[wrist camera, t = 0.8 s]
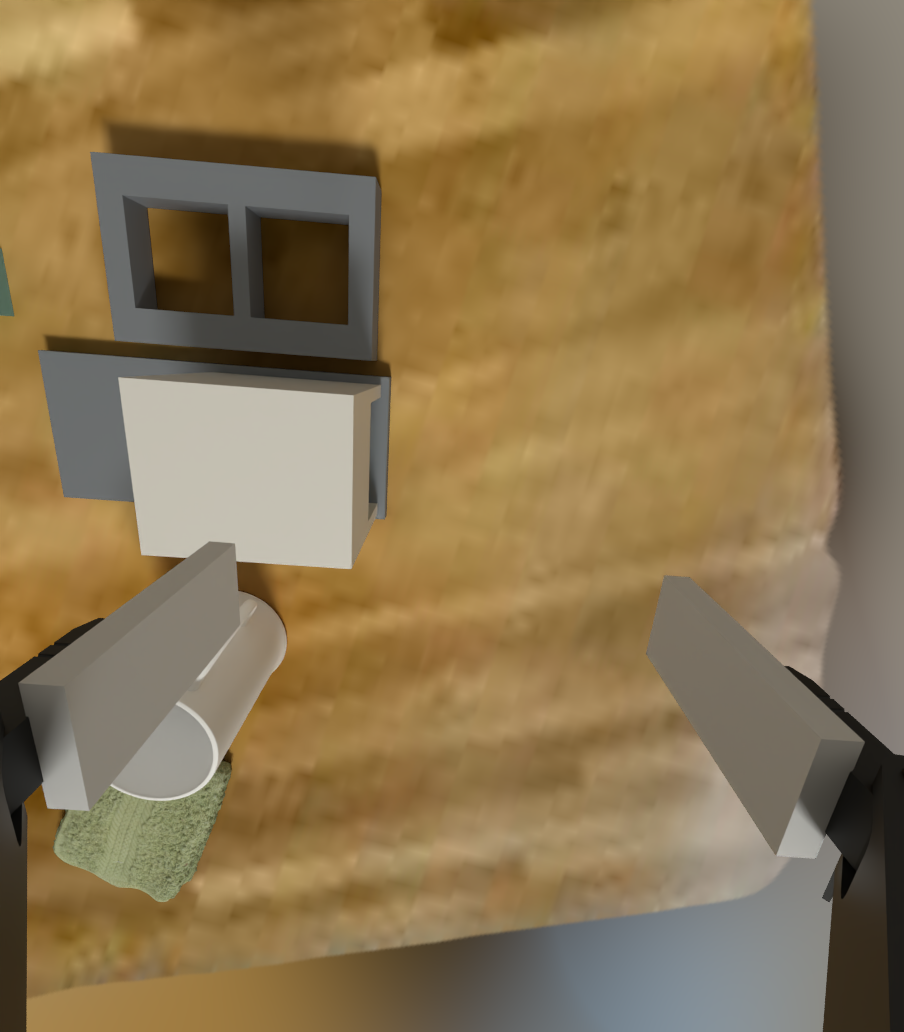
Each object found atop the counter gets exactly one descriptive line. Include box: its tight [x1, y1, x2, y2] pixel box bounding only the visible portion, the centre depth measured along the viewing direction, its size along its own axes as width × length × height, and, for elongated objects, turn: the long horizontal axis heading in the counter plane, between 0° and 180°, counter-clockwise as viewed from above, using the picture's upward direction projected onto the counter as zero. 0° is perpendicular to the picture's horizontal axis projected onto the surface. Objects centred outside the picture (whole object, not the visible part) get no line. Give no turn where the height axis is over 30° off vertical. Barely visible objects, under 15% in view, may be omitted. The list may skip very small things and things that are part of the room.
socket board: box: [90, 152, 381, 361], centre depth 30 cm, size 16×10×2 cm, turn 86°
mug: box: [110, 591, 287, 801], centre depth 34 cm, size 12×8×12 cm
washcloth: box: [53, 761, 231, 902], centre depth 44 cm, size 13×18×3 cm
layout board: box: [38, 350, 391, 519], centre depth 32 cm, size 23×10×5 cm, turn 86°
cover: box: [118, 372, 381, 569], centre depth 29 cm, size 11×9×10 cm
